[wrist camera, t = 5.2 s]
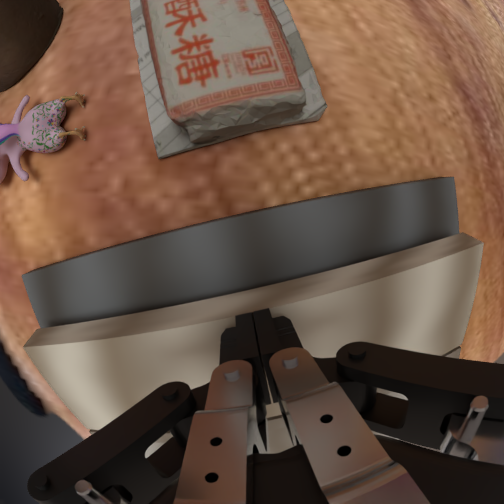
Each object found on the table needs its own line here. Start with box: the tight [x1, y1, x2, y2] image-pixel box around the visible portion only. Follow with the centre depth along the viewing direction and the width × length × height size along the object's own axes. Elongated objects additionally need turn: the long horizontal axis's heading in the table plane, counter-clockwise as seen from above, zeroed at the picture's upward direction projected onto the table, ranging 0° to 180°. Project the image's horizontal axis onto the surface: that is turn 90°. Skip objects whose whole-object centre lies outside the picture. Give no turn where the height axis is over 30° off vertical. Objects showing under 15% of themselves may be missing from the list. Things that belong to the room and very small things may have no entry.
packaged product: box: [130, 0, 327, 159], centre depth 11 cm, size 18×5×10 cm
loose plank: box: [23, 232, 484, 430], centre depth 14 cm, size 28×9×2 cm, turn 102°
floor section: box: [22, 177, 461, 458], centre depth 16 cm, size 30×20×4 cm, turn 102°
